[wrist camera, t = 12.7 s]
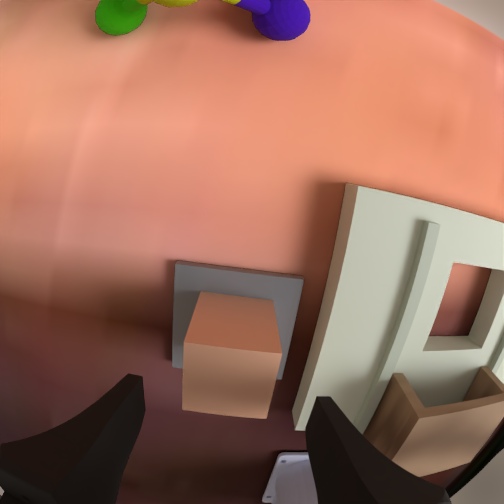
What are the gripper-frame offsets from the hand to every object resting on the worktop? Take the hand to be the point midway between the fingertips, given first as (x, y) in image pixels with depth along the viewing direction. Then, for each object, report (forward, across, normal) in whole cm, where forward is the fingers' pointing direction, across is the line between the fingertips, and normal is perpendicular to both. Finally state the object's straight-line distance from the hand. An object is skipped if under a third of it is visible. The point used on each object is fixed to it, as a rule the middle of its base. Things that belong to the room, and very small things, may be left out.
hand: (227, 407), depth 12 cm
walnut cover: (+5, -15, +5) cm, 16 cm away
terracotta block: (+6, 0, 0) cm, 6 cm away
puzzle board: (+7, -15, -1) cm, 17 cm away
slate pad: (+7, 0, 0) cm, 7 cm away
